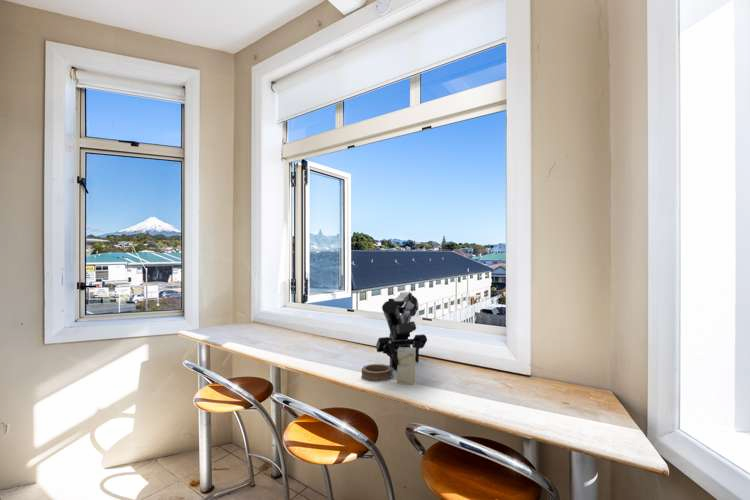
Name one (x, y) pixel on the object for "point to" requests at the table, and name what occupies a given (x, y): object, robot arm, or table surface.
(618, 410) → the table surface
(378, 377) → the walnut ring
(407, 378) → the skincare box
